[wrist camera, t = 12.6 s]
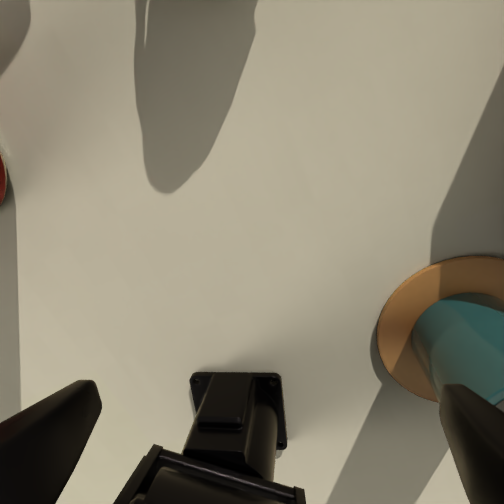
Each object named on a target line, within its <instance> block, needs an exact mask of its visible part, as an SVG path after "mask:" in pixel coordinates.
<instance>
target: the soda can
mask: <svg viewBox="0 0 504 504" xmlns="http://www.w3.org/2000/svg"><path fill="white" fill-rule="evenodd" d="M6 189H7V170H6V164H5V161H4V158H3V155H2V153H1V151H0V205H1V203H2V201H3V199H4V197H5V193H6Z"/></svg>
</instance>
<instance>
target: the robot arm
mask: <svg viewBox="0 0 504 504" xmlns="http://www.w3.org/2000/svg"><path fill="white" fill-rule="evenodd" d="M196 379H198V380H199V381H197V380H196ZM271 380H276V382H273V381H271ZM190 385H191V390H192V395H193V400H194V405H195V410H196V417H195V419H194V422H193V425H192V427H191V430H190V432H189V435H188V437H187V440H186V442H185V445H184V448H183V450H182V453H181V454H179V453H176V452H172V451H169V450H166V449H163V447H162V446H159V445H156V444H154V445H153V446H152V448H151V449H150V451H149V452H148V454H147V455H146V456H144V457H143V458H142V460H141V461H140V463H139V464H138V466H137V467H136V469H135V471H134V472H133V474H132V475H131V477H130V478H129V480H128V481H127V483H126V484H125V486H124V488H123V489H122V491H121V492H120V494H119V495H118V497H117V498H116V500H115V501H114V503H113V504H306V499H305V492H304V489H302V488H299V487H295V486H294V488H292V487H288V486H285V485H282V484H278V483H275V482H273V479H274V468H275V456H276V450H284V449H286V448H287V431H286V421H285V411H284V400H283V390H282V380H281V376H280V375H279V374H277V373H247V372H195V373H193V374H192V376H191V378H190ZM101 409H102V402H101V399H100V396H99V392H98V389H97V386H96V383H95V382H94V381H93V380H78V381H76V382H74V383H72V384H70V385H68V386H67V387H65V388H63V389H61V390H59V391H57V392H56V393H54V394H52V395H50V396H48V397H47V398H45V399H43V400H41V401H39V402H37V403H36V404H34V405H32V406H30V407H28V408H27V409H25V410H23V411H21V412H19V413H17V414H16V415H14V416H12V417H10V418H8V419H7V420H5V421H3V422H1V423H0V504H55V503H56V501H57V500H58V498H59V496H60V494H61V492H62V491H63V489H64V487H65V485H66V484H67V482H68V480H69V478H70V476H71V475H72V473H73V471H74V469H75V467H76V465H77V463H78V461H79V459H80V456H81V454H82V452H83V450H84V448H85V446H86V443H87V441H88V439H89V437H90V435H91V433H92V430H93V428H94V426H95V424H96V422H97V420H98V417H99V415H100V413H101ZM439 413H440V420H441V424H442V427H443V429H444V432H445V435H446V438H447V441H448V444H449V447H450V450H451V453H452V455H453V458H454V461H455V464H456V467H457V470H458V473H459V476H460V479H461V481H462V484H463V487H464V490H465V492H466V495H467V497H468V500H469V502H470V504H504V412H503V411H502V410H500V409H499V408H497V407H496V406H494V405H493V404H491V403H490V402H488V401H487V400H486V399H484V398H483V397H481V396H480V395H478V394H477V393H475V392H474V391H472V390H471V389H469V388H468V387H466V386H465V385H463V384H444V385H443V386H442V388H441V398H440V411H439ZM280 442H282V443H280Z"/></svg>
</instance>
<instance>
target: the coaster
mask: <svg viewBox="0 0 504 504" xmlns="http://www.w3.org/2000/svg"><path fill="white" fill-rule="evenodd" d="M469 292H471V293H484V294H488V295H492V296H495V297H497V298H500V299H501V300H503V301H504V259H501V258H497V257H488V256H467V257H458V258H453V259H449V260H445V261H442V262H439V263H436V264H433V265H431V266H429V267H427V268H424V269H422V270H421V271H419V272H417V273H416V274H414V275H412V276H411V277H410V278H409V279H407V280H406V281H405V282H403V283H402V284H401V285H400V286H399V287H398V288H397V289H396V290H395V291H394V293H393V294H392V295H391V297H390V298H389V299H388V301H387V303H386V304H385V306H384V308H383V310H382V313H381V315H380V318H379V322H378V326H377V346H378V350H379V354H380V356H381V359H382V361H383V364H384V365H385V367H386V369H387V370H388V372H389V373H390V374H391V376H392V377H393V378H394V379H395V380H396V381H397V382H398V383H399V384H400V385H401V386H403V387H404V388H406V389H407V390H408V391H410V392H412V393H414V394H416V395H417V396H420V397H422V398H425V399H427V400H431V401H435V402H439V401H438V399H437V398H436V396H435V394H434V392H433V390H432V388H431V386H430V384H429V382H428V380H427V379H426V377H425V375H424V373H423V371H422V369H421V367H420V365H419V363H418V362H417V360H416V358H415V356H414V353H413V351H412V346H411V336H412V331H413V328H414V325H415V323H416V321H417V320H418V318H419V317H420V316H421V314H422V313H423V312H424V311H425V310H426V309H427V308H428V307H430V306H431V305H432V304H434V303H436V302H437V301H439V300H441V299H443V298H446V297H448V296H451V295H455V294H460V293H469Z"/></svg>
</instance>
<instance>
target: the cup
mask: <svg viewBox="0 0 504 504" xmlns="http://www.w3.org/2000/svg"><path fill="white" fill-rule="evenodd" d="M411 346H412V351H413V353H414V356H415V358H416V360H417V362H418V363H419V365H420V367H421V369H422V371H423V373H424V375H425V377H426V379H427V380H428V382H429V384H430V386H431V388H432V390H433V392H434V394H435V396H436V398H437V399H438V401H439V403H440V398H441V388H442V386H443V385H444V384H463V385H465V386H466V387H468V388H469V389H471V390H472V391H474V392H475V393H477V394H478V395H480V396H481V397H483V398H484V399H486V400H487V401H488V402H490V403H491V404H493V405H494V406H496V407H497V408H499V409H500V410H502V411H503V412H504V301H503V300H501V299H500V298H497V297H495V296H492V295H488V294H484V293H471V292H469V293H460V294H455V295H451V296H448V297H446V298H443V299H441V300H439V301H437V302H436V303H434V304H432V305H431V306H430V307H428V308H427V309H426V310H425V311H424V312H423V313H422V314H421V316H420V317H419V318H418V320H417V321H416V323H415V325H414V328H413V331H412V336H411Z"/></svg>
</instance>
